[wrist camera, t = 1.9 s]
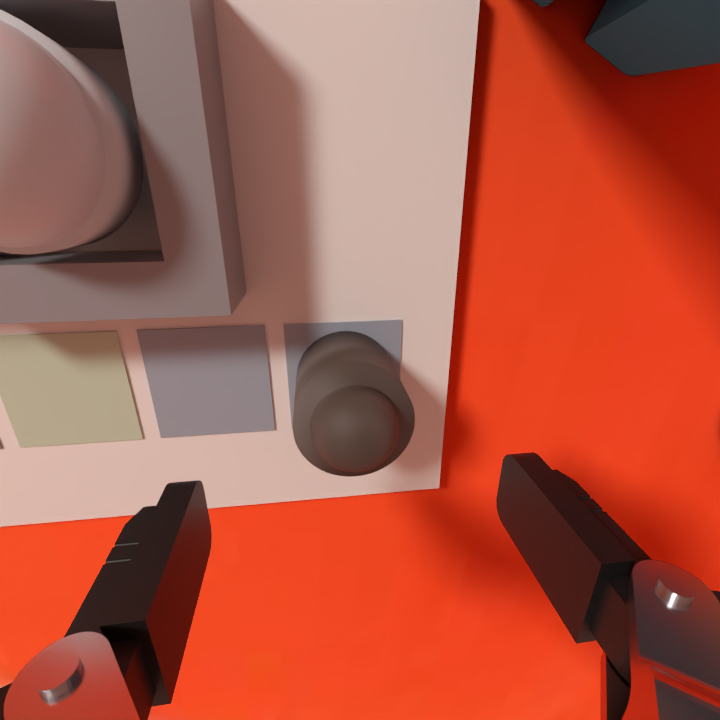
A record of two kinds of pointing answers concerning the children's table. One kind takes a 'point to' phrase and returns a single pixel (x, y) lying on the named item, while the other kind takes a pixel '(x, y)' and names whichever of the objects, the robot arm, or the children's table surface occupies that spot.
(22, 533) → the children's table surface
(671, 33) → the block
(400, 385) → the pawn
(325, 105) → the game board
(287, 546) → the children's table surface
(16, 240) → the dome
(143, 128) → the dome housing
